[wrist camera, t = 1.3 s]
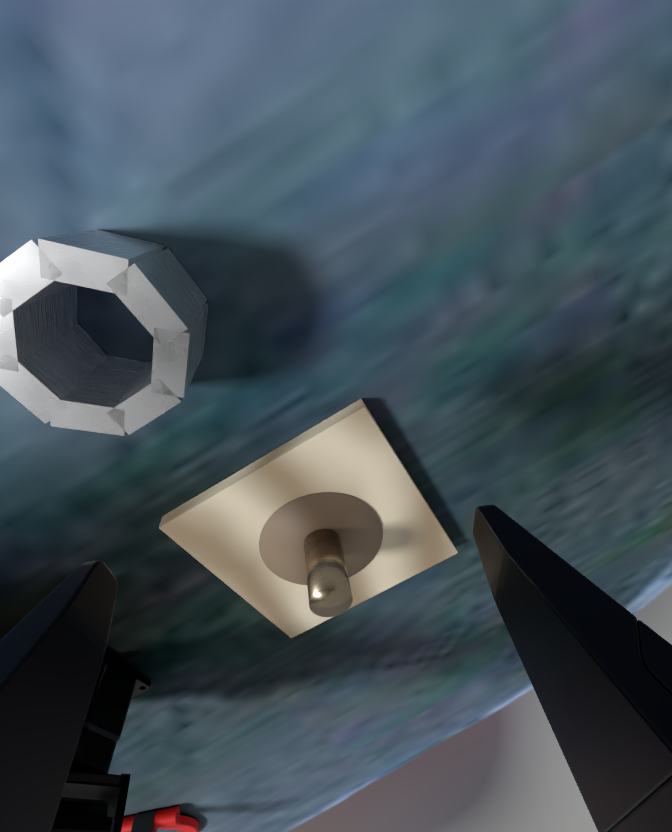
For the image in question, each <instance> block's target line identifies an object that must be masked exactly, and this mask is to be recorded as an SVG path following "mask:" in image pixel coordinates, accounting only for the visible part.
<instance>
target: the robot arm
mask: <svg viewBox="0 0 672 832" xmlns="http://www.w3.org/2000/svg"><path fill="white" fill-rule="evenodd" d="M473 534H474V539H475V542H476V545H477V548H478V551H479V554H480V557H481V560H482V563H483V567H484V570H485V573H486V576H487V579H488V582H489V585H490V588H491V591H492V594H493V597H494V600H495V602H496V605H497V607H498V609H499V612H500V614H501V616H502V618H503V621H504V623H505V625H506V627H507V629H508V632H509V634H510V636H511V638H512V641H513V643H514V645H515V647H516V649H517V652H518V654H519V656H520V658H521V661H522V663H523V665H524V667H525V670H526V672H527V674H528V676H529V678H530V681H531V683H532V685H533V687H534V690H535V691H536V694H537V696H538V698H539V701H540V703H541V705H542V707H543V710H544V712H545V714H546V716H547V718H548V720H549V723H550V725H551V727H552V730H553V732H554V734H555V736H556V738H557V741H558V743H559V745H560V747H561V749H562V752H563V754H564V756H565V759H566V760H567V763H568V765H569V767H570V770H571V772H572V774H573V776H574V779H575V781H576V783H577V785H578V787H579V790H580V792H581V794H582V796H583V799H584V801H585V803H586V805H587V808H588V810H589V812H590V814H591V816H592V819H593V821H594V823H595V825H596V827H597V830H598V832H672V645H671V644H670V643H668V642H667V641H666V640H665V639H663V638H662V637H661V636H659V635H658V634H657V633H656V632H654V631H653V630H652V629H650V628H649V627H648V626H647V625H645V624H644V623H643V622H641V621H639V620H638V621H637V619H636V617H635V616H634V615H633V614H631V613H630V612H629V611H628V610H626V609H625V608H624V607H623V606H621V605H620V604H619V603H617V602H616V601H615V600H614V599H612V598H611V597H610V596H609V595H607V594H606V593H605V592H604V591H602V590H601V589H600V588H599V587H597V586H596V585H595V584H594V583H592V582H591V581H590V580H588V579H587V578H586V577H585V576H583V575H582V574H581V573H580V572H578V571H577V570H576V569H575V568H573V567H572V566H571V565H570V564H568V563H567V562H566V561H564V560H563V559H562V558H561V557H559V556H558V555H557V554H556V553H554V552H553V551H552V550H551V549H549V548H548V547H547V546H546V545H544V544H543V543H542V542H541V541H539V540H538V539H537V538H535V537H534V536H533V535H532V534H530V533H529V532H528V531H527V530H525V529H524V528H523V527H522V526H520V525H519V524H518V523H517V522H515V521H514V520H513V519H512V518H510V517H509V516H508V515H506V514H505V513H504V512H503V511H501V510H500V509H499V508H498V507H496V506H494V505H485V506H478V507H477V508H476V510H475V516H474V525H473ZM117 590H118V583H117V580H116V578H115V577H114V575H113V574H112V572H111V571H110V570H109V568H108V567H107V566H106V564H105V563H104V562H103V561H101V560H97V561H90V562H85V563H82V564H81V565H80V566H78V567H77V568H76V569H75V570H74V571H73V572H72V573H71V574H70V575H69V576H68V577H67V578H66V579H65V580H64V581H63V582H61V583H60V584H59V585H58V586H57V587H56V588H55V589H54V590H53V591H52V592H51V593H50V594H49V595H48V596H47V597H46V598H45V599H44V600H42V601H41V602H40V603H39V604H38V605H37V606H36V607H35V608H34V609H33V610H32V611H31V612H30V613H29V614H28V615H27V616H26V617H25V618H23V619H22V620H21V621H20V622H19V623H18V624H17V625H16V626H15V627H14V628H13V629H12V630H11V631H10V632H9V633H8V634H7V635H6V636H4V637H3V638H2V639H1V640H0V832H121V830H122V824H123V818H124V811H125V805H126V799H127V793H128V787H129V781H130V774H121V775H113V774H108V771H109V767H110V764H111V760H112V757H113V753H114V750H115V747H116V743H117V741H118V740H119V739H120V737H121V733H122V730H123V726H124V722H125V719H126V715H127V712H128V708H129V705H130V701H131V699H132V698H134V697H136V696H138V695H140V694H142V693H144V692H146V691H147V690H149V688H150V684H151V681H150V680H148V679H146V678H145V677H143V676H141V675H139V674H138V673H136V672H134V671H132V670H131V669H129V668H127V667H125V666H124V665H122V664H120V663H118V662H117V661H115V660H113V659H111V658H110V657H108V656H106V655H104V654H105V650H106V645H107V641H108V636H109V631H110V626H111V621H112V616H113V611H114V605H115V600H116V595H117Z"/></svg>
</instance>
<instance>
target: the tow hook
mask: <svg viewBox="0 0 672 832" xmlns="http://www.w3.org/2000/svg"><path fill="white" fill-rule="evenodd" d="M158 828H161V829H174V830H179V831H181V832H198V830H199V823H198V822H197V821H196V820H195V819H193V818H191V817H188V816H183V815H180V808H179V806H176V807H171V808H167V809H162V810H151V811H146V812H142V813H137V814H136V815H133V816H128V817H124V818H123V824H122V830H121V832H157V829H158Z"/></svg>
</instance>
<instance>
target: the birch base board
mask: <svg viewBox="0 0 672 832" xmlns="http://www.w3.org/2000/svg"><path fill="white" fill-rule="evenodd" d="M159 529H161V530H162V531H163V532H164V533H165V534H167V535H168V536H169V537H170V538H171V539H173V540H174V541H175V542H176V543H177V544H179V545H180V546H181V547H182V548H183V549H185V550H186V551H187V552H188V553H189V554H191V555H192V556H193V557H194V558H195V559H197V560H198V561H199V562H200V563H201V564H203V565H204V566H205V567H206V568H207V569H209V570H210V571H211V572H212V573H213V574H215V575H216V576H217V577H218V578H219V579H221V580H222V581H223V582H224V583H225V584H227V585H228V586H229V587H230V588H231V589H233V590H234V591H235V592H236V593H237V594H239V595H240V596H241V597H242V598H243V599H245V600H246V601H247V602H248V603H249V604H251V605H252V606H253V607H254V608H256V609H257V610H258V611H259V612H260V613H262V614H263V615H264V616H265V617H266V618H268V619H269V620H270V621H271V622H272V623H274V624H275V625H276V626H277V627H278V628H280V629H281V630H282V631H283V632H284V633H286V634H287V635H288V636H289V637H290V638H293V637H295V636H297V635H299V634H301V633H303V632H305V631H307V630H309V629H311V628H313V627H315V626H316V625H318V624H320V623H322V622H324V621H326V620H328V619H330V618H332V617H321V616H318V615H315V614H314V613H313V612H312V611H311V610H310V607H309V598H308V587H307V576H306V566H305V555H304V540H305V538H306V537H307V535H308V534H310V533H311V532H313V531H315V530H318V529H331V530H333V531H335V532H337V533H338V534H339V536H340V539H341V544H342V549H343V553H344V558H345V563H346V568H347V573H348V578H349V583H350V588H351V593H352V597H353V602H352V605H351V606H350V608H352V607H353V606H355V605H357V604H359V603H361V602H363V601H365V600H367V599H369V598H371V597H373V596H375V595H377V594H379V593H381V592H383V591H385V590H387V589H389V588H390V587H392V586H394V585H396V584H398V583H400V582H402V581H404V580H406V579H408V578H410V577H412V576H414V575H416V574H418V573H420V572H422V571H424V570H426V569H427V568H429V567H431V566H433V565H435V564H437V563H439V562H441V561H443V560H445V559H447V558H449V557H451V556H453V555H455V554H457V553H458V552H457V550H456V548H455V546H454V545H453V543H452V541H451V540H450V538H449V536H448V535H447V533H446V532H445V530H444V528H443V527H442V525H441V524H440V522H439V521H438V519H437V517H436V516H435V514H434V513H433V511H432V510H431V508H430V506H429V505H428V503H427V502H426V500H425V498H424V497H423V495H422V494H421V492H420V491H419V489H418V487H417V486H416V484H415V483H414V481H413V480H412V478H411V476H410V475H409V473H408V472H407V470H406V468H405V467H404V465H403V464H402V462H401V461H400V459H399V457H398V456H397V454H396V453H395V451H394V450H393V448H392V446H391V445H390V443H389V442H388V440H387V438H386V437H385V435H384V434H383V432H382V431H381V429H380V427H379V426H378V424H377V423H376V421H375V420H374V418H373V416H372V415H371V413H370V412H369V410H368V408H367V407H366V405H365V404H364V402H363V401H362V399H359V400H358V401H356V402H354V403H353V404H351V405H349V406H348V407H346V408H344V409H343V410H341V411H339V412H338V413H336V414H334V415H332V416H331V417H329V418H327V419H326V420H324V421H322V422H321V423H319V424H317V425H316V426H314V427H312V428H311V429H309V430H307V431H306V432H304V433H302V434H300V435H299V436H297V437H295V438H294V439H292V440H290V441H289V442H287V443H285V444H284V445H282V446H280V447H279V448H277V449H275V450H273V451H272V452H270V453H268V454H267V455H265V456H263V457H262V458H260V459H258V460H257V461H255V462H253V463H252V464H250V465H248V466H246V467H245V468H243V469H241V470H240V471H238V472H236V473H235V474H233V475H231V476H230V477H228V478H226V479H225V480H223V481H221V482H219V483H218V484H216V485H214V486H213V487H211V488H209V489H208V490H206V491H204V492H203V493H201V494H199V495H198V496H196V497H194V498H193V499H191V500H189V501H187V502H186V503H184V504H182V505H181V506H179V507H177V508H176V509H174V510H172V511H171V512H169V513H167V514H166V515H164V516H163V517H162V520H161V523H160V525H159ZM350 608H349V609H350Z"/></svg>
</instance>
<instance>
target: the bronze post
mask: <svg viewBox="0 0 672 832" xmlns="http://www.w3.org/2000/svg"><path fill="white" fill-rule="evenodd" d="M304 555H305V566H306V576H307V587H308V598H309V607H310V610H311V611H312V612H313V613H314V614H315V615H318V616H321V617H334V616H337V615H340V614H342V613H344V612H345V611H347V610H348V609H349V608H350V606H351V605H352V602H353V597H352V593H351V588H350V583H349V578H348V573H347V568H346V563H345V558H344V553H343V549H342V544H341V539H340V536H339V534H338V533H337V532H335V531H333V530H331V529H318V530H315V531H313V532H311V533H310V534H308V535H307V537H306V538H305V540H304Z"/></svg>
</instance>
